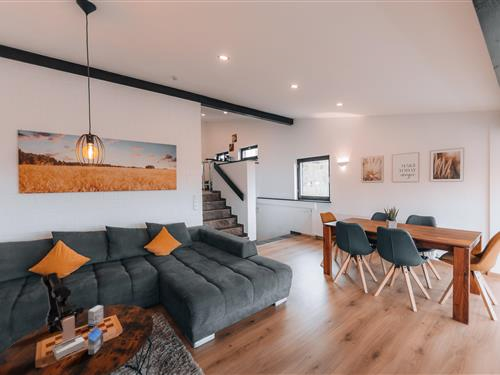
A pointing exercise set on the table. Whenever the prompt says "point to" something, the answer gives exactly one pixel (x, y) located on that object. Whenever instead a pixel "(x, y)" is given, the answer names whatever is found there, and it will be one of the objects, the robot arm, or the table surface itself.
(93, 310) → the ink box
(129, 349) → the table surface
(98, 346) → the label tape cartridge
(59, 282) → the robot arm
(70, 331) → the pink rectangular block
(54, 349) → the dispenser
